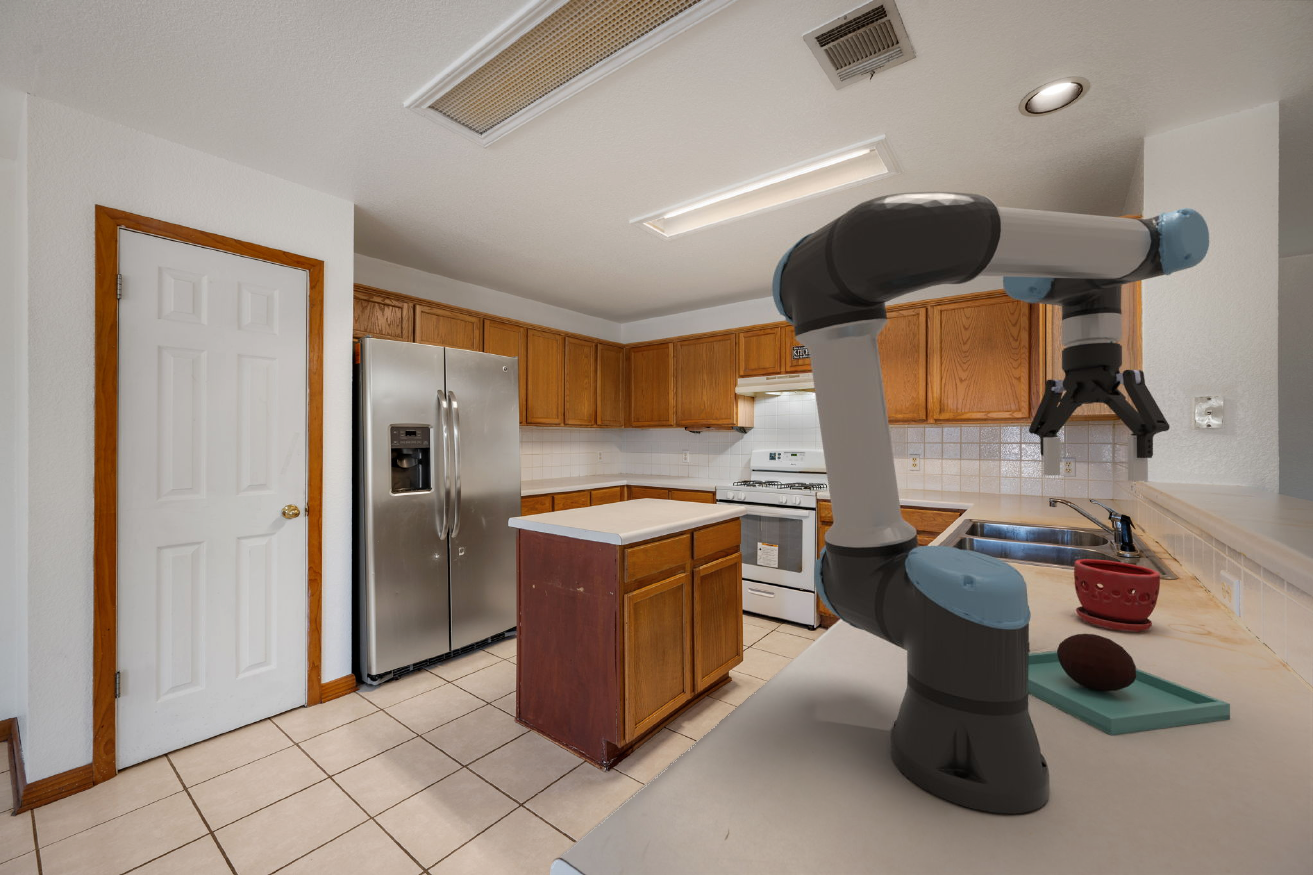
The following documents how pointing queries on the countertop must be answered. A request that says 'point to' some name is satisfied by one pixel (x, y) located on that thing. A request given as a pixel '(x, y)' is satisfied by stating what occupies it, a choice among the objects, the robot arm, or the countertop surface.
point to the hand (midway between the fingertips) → (1091, 478)
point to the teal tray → (1122, 700)
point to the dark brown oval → (1096, 662)
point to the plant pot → (1116, 594)
